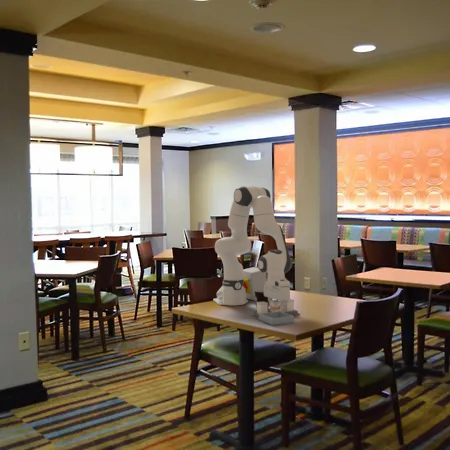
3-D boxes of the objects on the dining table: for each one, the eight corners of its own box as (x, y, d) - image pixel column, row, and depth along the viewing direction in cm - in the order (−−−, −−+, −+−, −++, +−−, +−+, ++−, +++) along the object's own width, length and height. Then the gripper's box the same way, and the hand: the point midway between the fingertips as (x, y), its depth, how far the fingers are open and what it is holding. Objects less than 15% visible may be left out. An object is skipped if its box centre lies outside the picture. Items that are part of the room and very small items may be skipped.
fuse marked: (269, 314, 276) (269, 300, 276) (276, 313, 278) (276, 299, 278) (274, 315, 273) (274, 302, 272) (281, 314, 275) (281, 301, 274)
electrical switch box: (236, 301, 326) (232, 269, 324) (257, 296, 332) (253, 265, 330) (247, 305, 313) (243, 272, 310) (269, 300, 319) (265, 267, 317)
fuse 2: (282, 312, 280) (282, 299, 280) (289, 311, 282) (289, 298, 282) (287, 314, 276) (287, 300, 276) (294, 313, 278) (294, 299, 278)
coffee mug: (269, 310, 289) (269, 292, 288) (253, 310, 290) (253, 291, 290) (271, 306, 300) (271, 288, 300) (256, 306, 302) (256, 288, 301)
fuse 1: (256, 315, 273) (256, 302, 273) (263, 314, 275) (263, 301, 274) (260, 317, 269) (260, 303, 269) (267, 316, 271) (267, 302, 271)
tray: (258, 320, 265) (258, 313, 264) (280, 318, 270) (280, 311, 270) (271, 326, 253) (271, 318, 253) (294, 323, 259) (294, 316, 259)
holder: (250, 316, 274) (250, 312, 273) (291, 312, 285) (291, 307, 285) (258, 319, 266) (258, 315, 266) (300, 314, 277) (300, 310, 277)
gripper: (260, 279, 283) (260, 305, 283) (281, 284, 264) (281, 311, 265) (270, 278, 285) (271, 303, 286) (292, 283, 267) (292, 310, 268)
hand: (276, 307), depth 275 cm, fingers open, 8 cm apart
